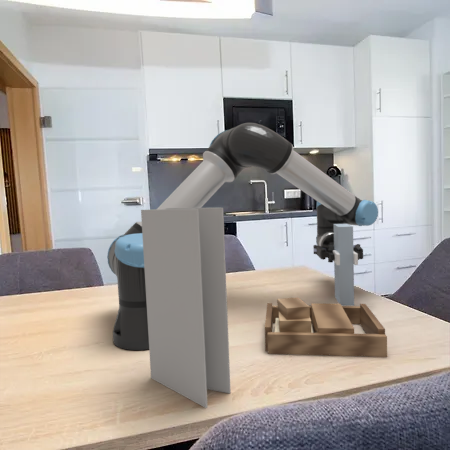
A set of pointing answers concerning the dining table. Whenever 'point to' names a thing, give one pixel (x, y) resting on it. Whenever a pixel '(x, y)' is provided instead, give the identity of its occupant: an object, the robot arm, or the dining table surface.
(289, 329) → the plate
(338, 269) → the grey rectangular block
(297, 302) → the offcut top
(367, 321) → the tray
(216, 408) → the dining table surface
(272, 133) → the robot arm
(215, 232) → the brochure
